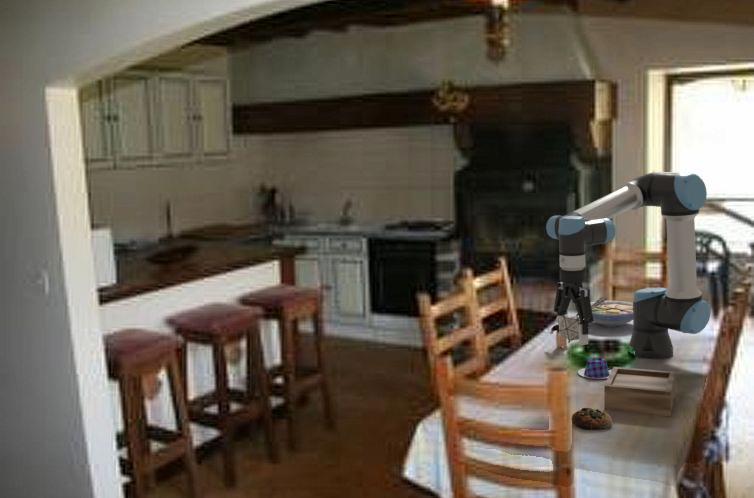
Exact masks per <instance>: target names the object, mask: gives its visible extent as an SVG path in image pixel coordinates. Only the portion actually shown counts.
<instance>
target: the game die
mask: <svg viewBox="0 0 754 498" xmlns="http://www.w3.org/2000/svg"><path fill="white" fill-rule="evenodd" d="M563 318H564V320H563V323H562V325H561V328H560V330H558V331H556V332H559V331H560V332H561V333H562V334H563V335H564V336H565V337H566V340H567V344H570V343H571V341H579V323H580V319H579V316H578V313H576V315H573V316H568V317H566V318H565V317H564V316H563ZM590 326H591V325H590V324H589V327H590Z"/></svg>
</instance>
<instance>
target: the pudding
mask: <svg viewBox="0 0 754 498" xmlns="http://www.w3.org/2000/svg"><path fill="white" fill-rule="evenodd" d="M608 369H610V368H609V367H608V363H607V361H606V359H604V358H603V357H590V358H588V359H587V361H586V365H585V367H583V368H580V369H579V370H578V371H577V374H578V375H579V376H582V377H583V378H584V377H585V378H587V379H594V380H595V379H596V380H603V379H608V377H609V375H610V373H611V371H612V369H610V370H608Z"/></svg>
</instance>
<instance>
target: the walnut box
mask: <svg viewBox="0 0 754 498" xmlns="http://www.w3.org/2000/svg"><path fill="white" fill-rule="evenodd" d="M611 370H612V371H611V373H610V374H609V377H608V376H607V377H608V378H606V379H607V380H606V381H605V384H604V388H603V389H604V410H606V411H617V412H626V413H633V414H634V413H635V414H644V415H646V414H647V415H655V416H662V417H663V416H665V417H671V416H672V411H673V407H674V402H675V399H676V398H675V397H676V371H671V370H670V371H668V370H655V369H645V368H643V369H642V368H633V367H621V366H620V367H619V366H612V369H611Z"/></svg>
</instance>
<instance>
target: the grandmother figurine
mask: <svg viewBox="0 0 754 498" xmlns="http://www.w3.org/2000/svg"><path fill="white" fill-rule="evenodd" d="M554 321H555V322H556V323H557V324H555V325H553V326H552V327H551V330H550V335H553V333H554V332H555V331H556V334H555V342H556V347H555V349H556V350H561V349H562V350H564V351H565V350H569V349H568V348H569V346H568V339H567V338H566V337H565V336H563V337H560V336H559V332H557V331H558V330H559V315H557V316H556V318H555V320H554Z"/></svg>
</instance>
